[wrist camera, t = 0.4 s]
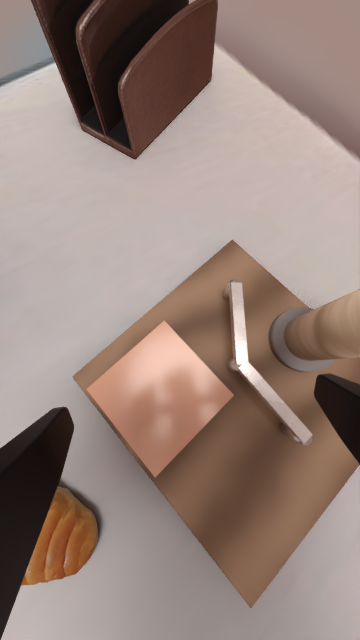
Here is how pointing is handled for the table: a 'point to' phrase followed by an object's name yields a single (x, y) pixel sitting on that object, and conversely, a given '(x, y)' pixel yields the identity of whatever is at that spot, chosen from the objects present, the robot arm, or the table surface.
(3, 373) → the table surface
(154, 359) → the pad
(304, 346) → the peg
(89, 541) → the pastry
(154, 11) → the letter holder
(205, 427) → the board
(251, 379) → the bent metal bar
